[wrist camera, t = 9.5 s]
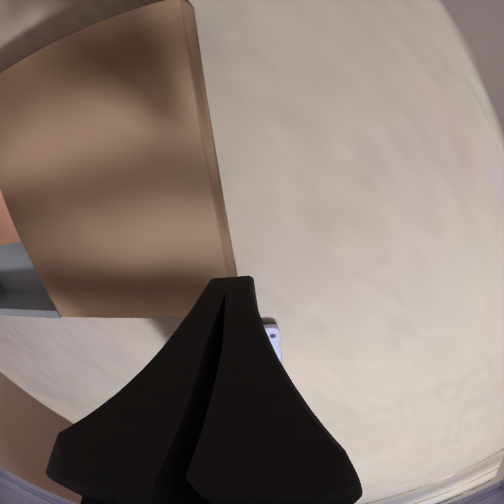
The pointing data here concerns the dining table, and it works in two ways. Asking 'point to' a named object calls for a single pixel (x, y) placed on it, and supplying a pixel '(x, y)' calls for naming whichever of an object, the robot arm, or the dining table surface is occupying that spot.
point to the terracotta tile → (7, 225)
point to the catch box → (22, 285)
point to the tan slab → (116, 166)
